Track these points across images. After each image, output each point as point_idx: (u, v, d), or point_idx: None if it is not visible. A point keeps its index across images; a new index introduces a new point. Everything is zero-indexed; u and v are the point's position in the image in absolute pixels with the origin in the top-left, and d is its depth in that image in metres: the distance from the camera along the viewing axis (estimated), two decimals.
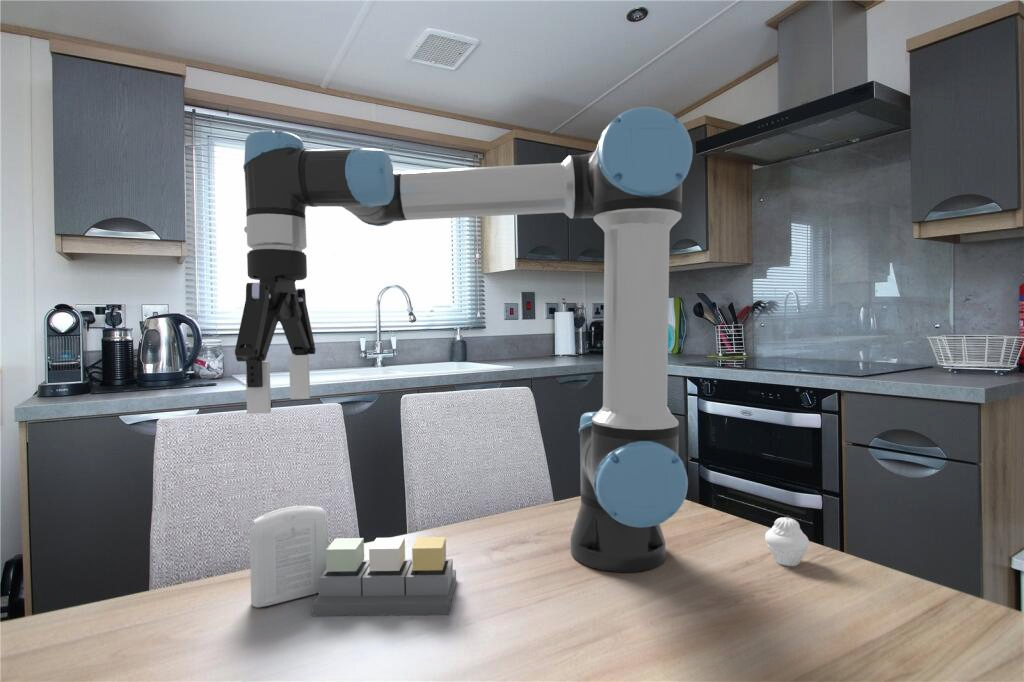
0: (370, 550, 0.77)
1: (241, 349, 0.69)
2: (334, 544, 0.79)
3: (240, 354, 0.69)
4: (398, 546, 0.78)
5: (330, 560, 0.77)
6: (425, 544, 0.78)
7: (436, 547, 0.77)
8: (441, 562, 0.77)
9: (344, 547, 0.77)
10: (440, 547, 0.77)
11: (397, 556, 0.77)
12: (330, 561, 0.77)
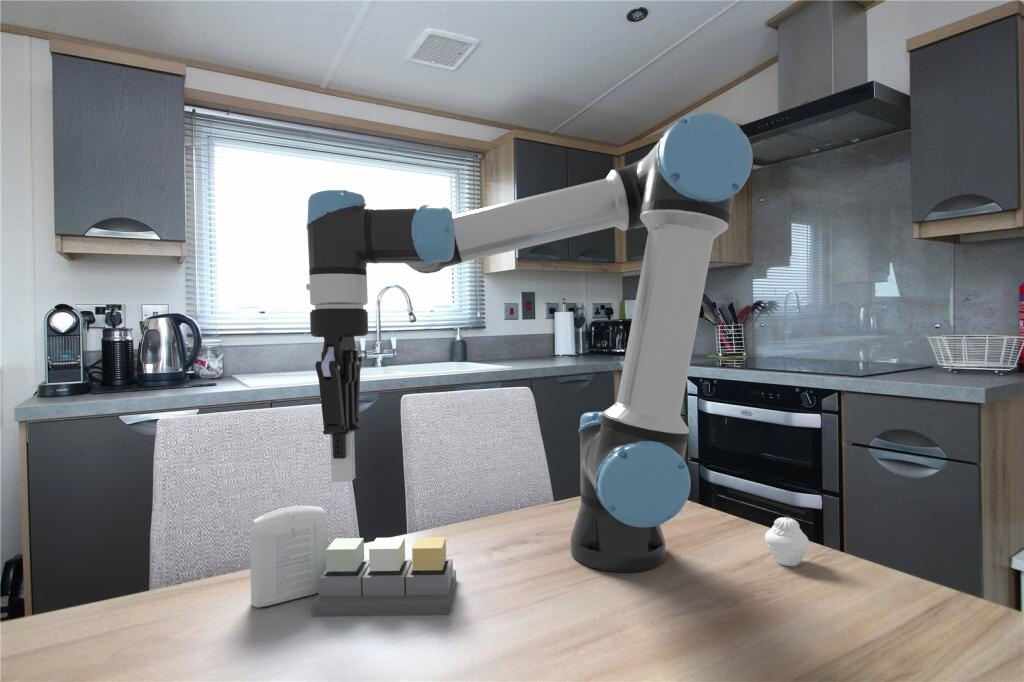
0: (370, 550, 0.77)
1: (329, 425, 0.75)
2: (334, 544, 0.79)
3: (328, 430, 0.75)
4: (398, 546, 0.78)
5: (330, 560, 0.77)
6: (425, 544, 0.78)
7: (436, 547, 0.77)
8: (441, 562, 0.77)
9: (344, 547, 0.77)
10: (440, 547, 0.77)
11: (397, 556, 0.77)
12: (330, 561, 0.77)
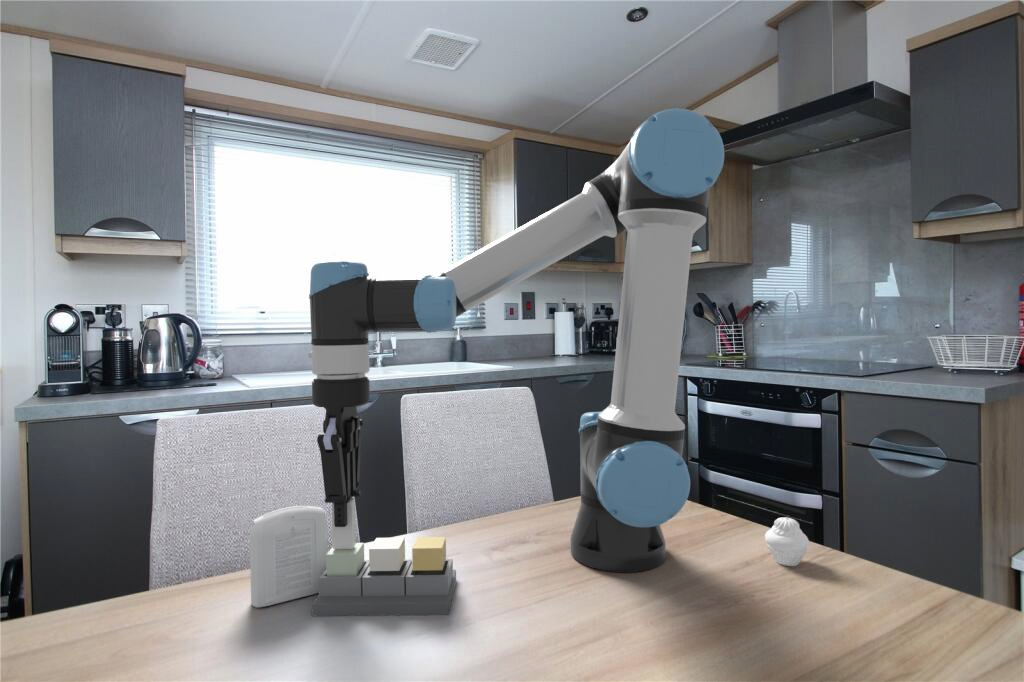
0: (370, 550, 0.77)
1: (331, 496, 0.75)
2: (334, 549, 0.79)
3: (330, 500, 0.75)
4: (398, 546, 0.78)
5: (330, 565, 0.77)
6: (425, 544, 0.78)
7: (436, 547, 0.77)
8: (441, 562, 0.77)
9: (344, 552, 0.77)
10: (440, 547, 0.77)
11: (397, 556, 0.77)
12: (330, 566, 0.77)
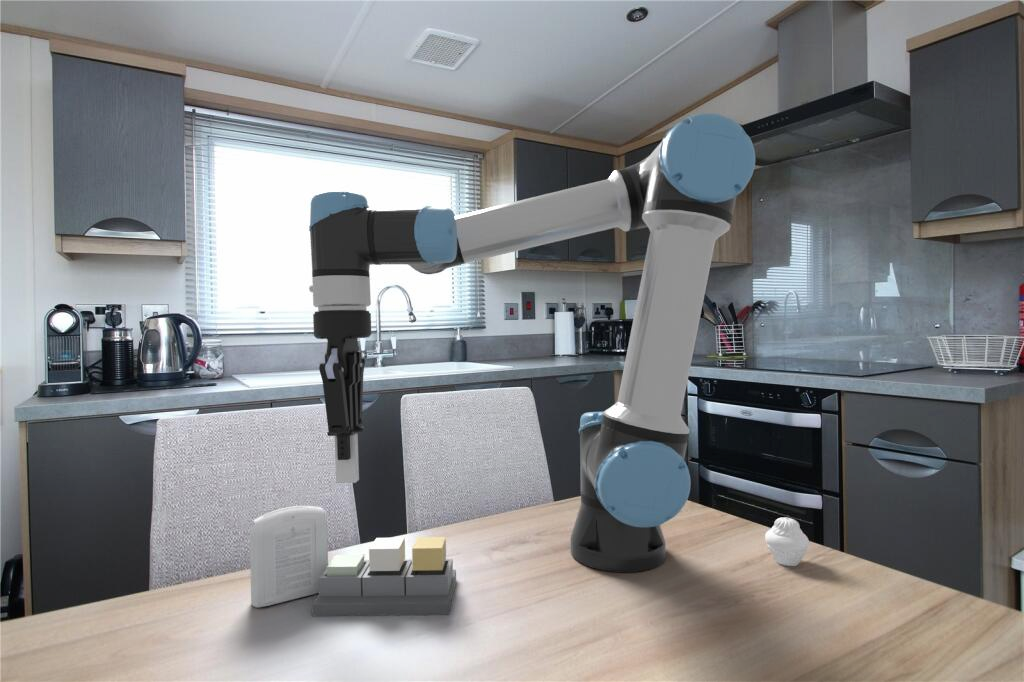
0: (370, 550, 0.77)
1: (334, 427, 0.75)
2: (335, 561, 0.79)
3: (333, 431, 0.75)
4: (398, 546, 0.78)
5: None
6: (425, 544, 0.78)
7: (436, 547, 0.77)
8: (441, 562, 0.77)
9: (345, 565, 0.77)
10: (440, 547, 0.77)
11: (397, 556, 0.77)
12: None
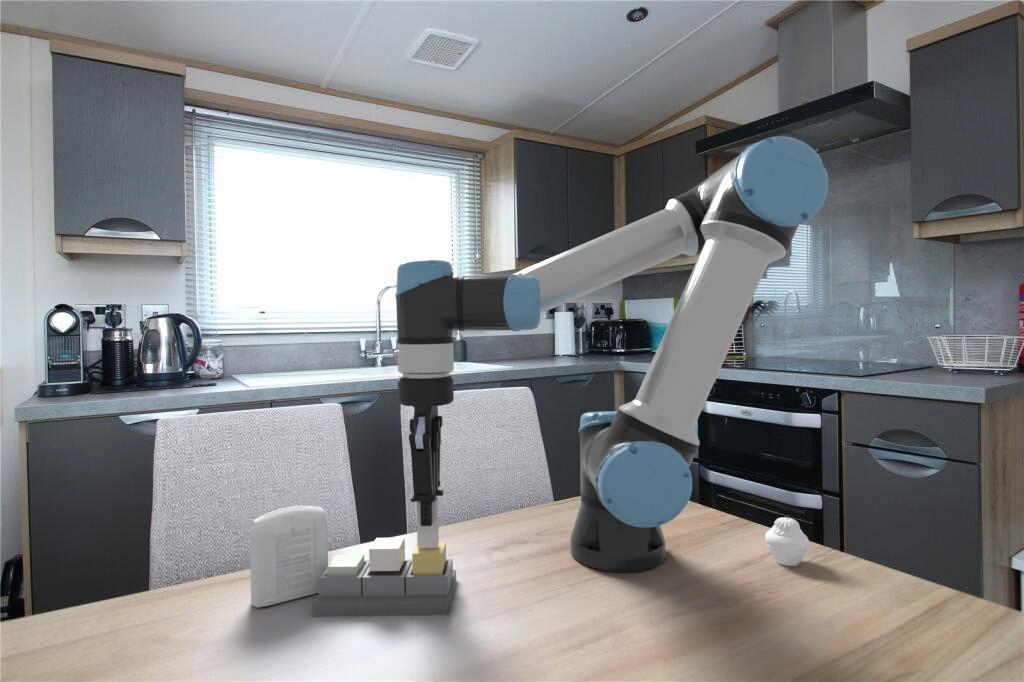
0: (370, 550, 0.77)
1: (419, 495, 0.75)
2: (335, 561, 0.79)
3: (418, 499, 0.75)
4: (398, 546, 0.78)
5: None
6: (426, 550, 0.78)
7: (436, 552, 0.77)
8: (441, 567, 0.77)
9: (345, 565, 0.77)
10: (440, 552, 0.77)
11: (397, 556, 0.77)
12: None
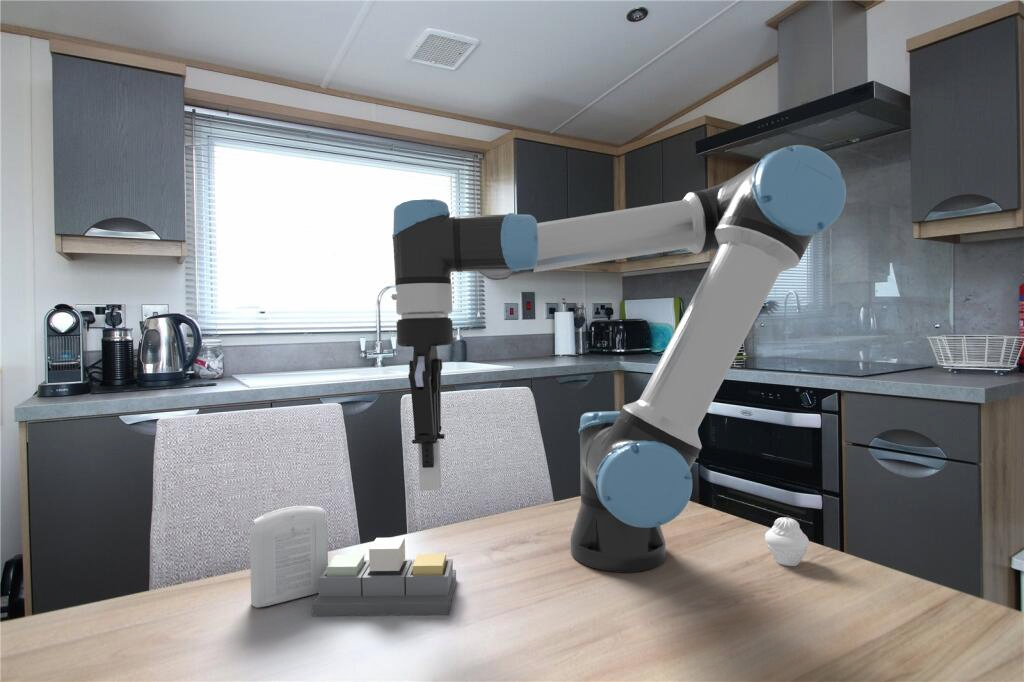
0: (370, 550, 0.77)
1: (420, 435, 0.75)
2: (335, 561, 0.79)
3: (419, 439, 0.75)
4: (398, 546, 0.78)
5: None
6: (426, 562, 0.78)
7: (436, 564, 0.77)
8: None
9: (345, 565, 0.77)
10: (440, 564, 0.77)
11: (397, 556, 0.77)
12: None
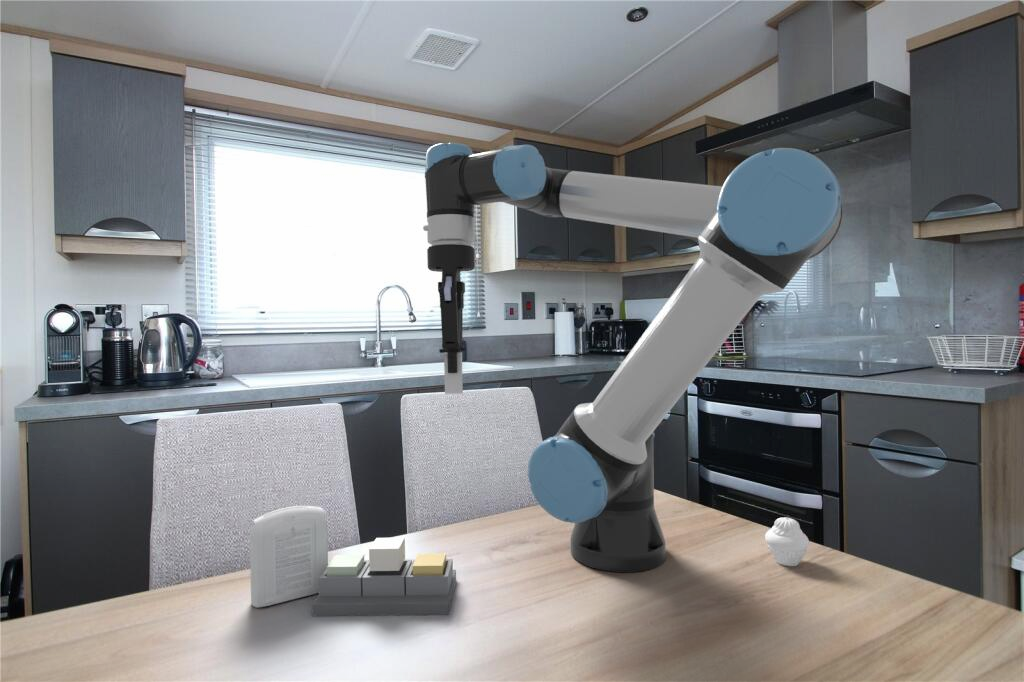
0: (370, 550, 0.77)
1: (447, 343, 0.88)
2: (335, 561, 0.79)
3: (446, 347, 0.88)
4: (398, 546, 0.78)
5: None
6: (426, 562, 0.78)
7: (436, 564, 0.77)
8: None
9: (345, 565, 0.77)
10: (440, 564, 0.77)
11: (397, 556, 0.77)
12: None
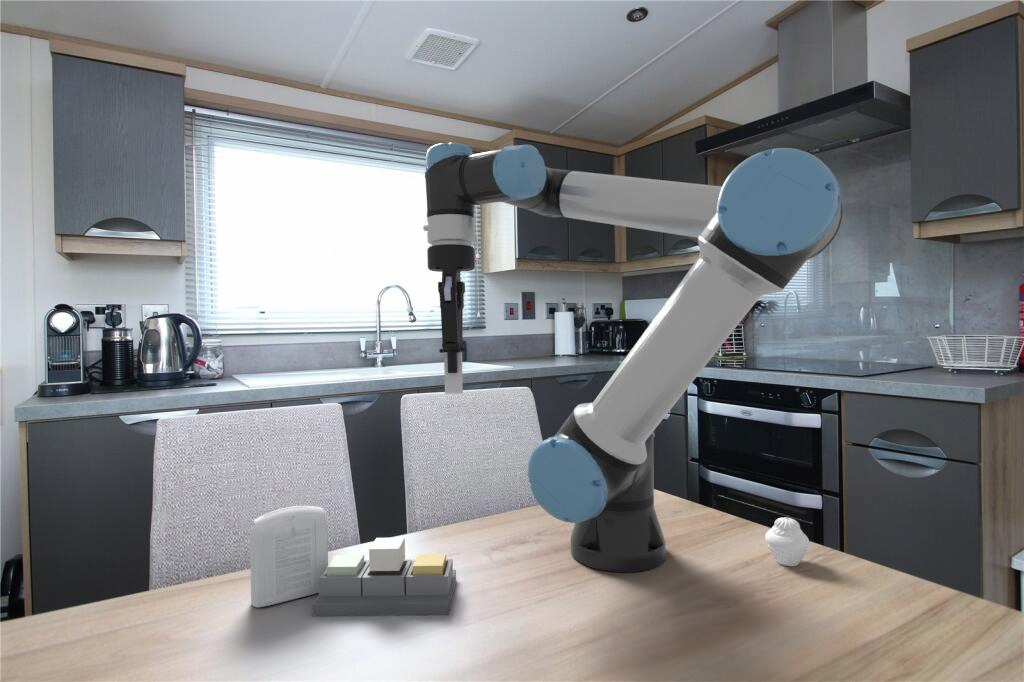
0: (370, 550, 0.77)
1: (447, 343, 0.88)
2: (335, 561, 0.79)
3: (446, 347, 0.88)
4: (398, 546, 0.78)
5: None
6: (426, 562, 0.78)
7: (436, 564, 0.77)
8: None
9: (345, 565, 0.77)
10: (440, 564, 0.77)
11: (397, 556, 0.77)
12: None
